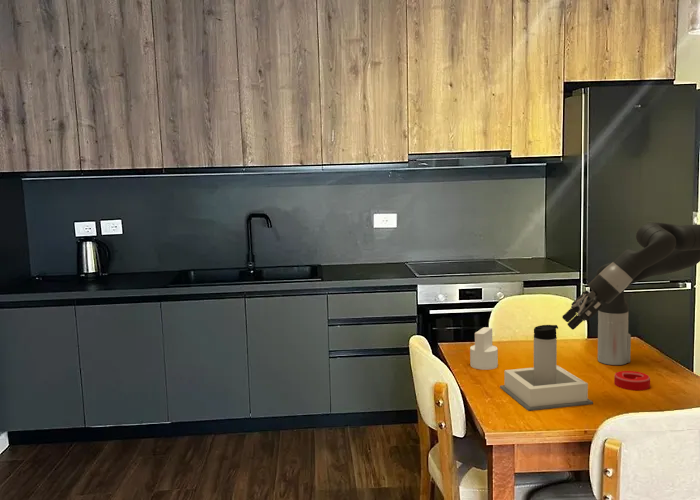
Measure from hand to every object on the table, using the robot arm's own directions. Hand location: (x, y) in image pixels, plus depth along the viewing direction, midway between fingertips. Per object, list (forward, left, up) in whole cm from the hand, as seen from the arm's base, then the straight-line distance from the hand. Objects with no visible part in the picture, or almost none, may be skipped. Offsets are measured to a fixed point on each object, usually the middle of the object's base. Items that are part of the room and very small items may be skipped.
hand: (567, 323), depth 176 cm
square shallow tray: (+5, -3, -21) cm, 22 cm away
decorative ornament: (-23, -4, -22) cm, 32 cm away
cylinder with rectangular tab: (+11, -34, -22) cm, 42 cm away
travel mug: (+5, -3, -21) cm, 22 cm away
